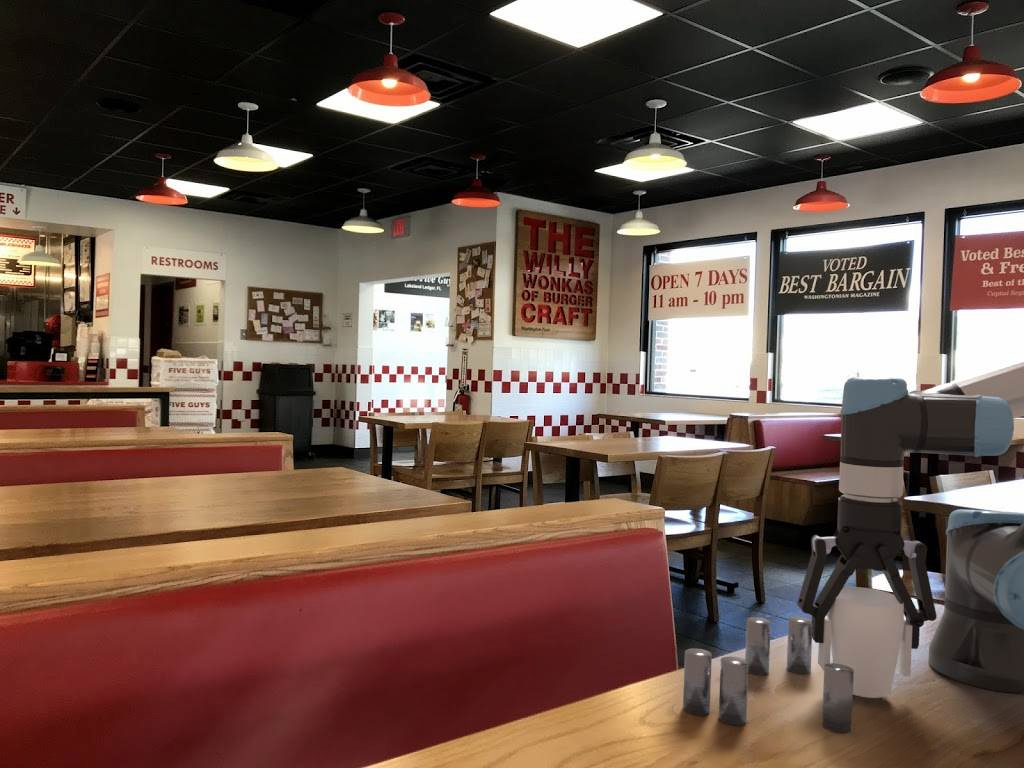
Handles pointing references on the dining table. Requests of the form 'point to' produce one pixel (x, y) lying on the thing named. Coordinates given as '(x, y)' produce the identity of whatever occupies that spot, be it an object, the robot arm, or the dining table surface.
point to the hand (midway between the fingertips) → (863, 669)
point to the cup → (867, 637)
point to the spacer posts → (757, 663)
